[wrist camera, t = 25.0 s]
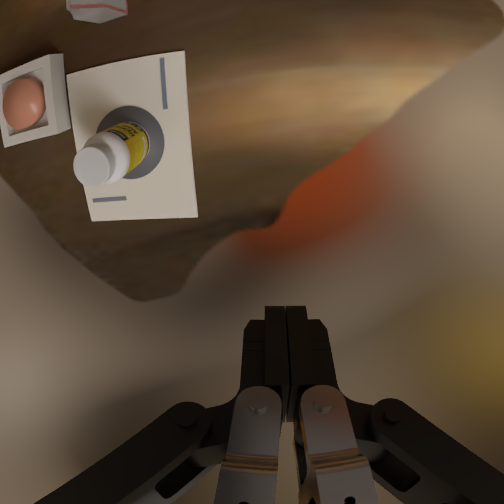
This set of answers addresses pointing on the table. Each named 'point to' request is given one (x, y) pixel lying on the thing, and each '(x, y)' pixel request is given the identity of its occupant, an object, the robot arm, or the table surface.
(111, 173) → the supplement bottle
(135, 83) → the white flat board
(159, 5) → the table surface
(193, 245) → the table surface
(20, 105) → the button
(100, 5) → the white carton
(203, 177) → the table surface
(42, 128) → the white square tray
